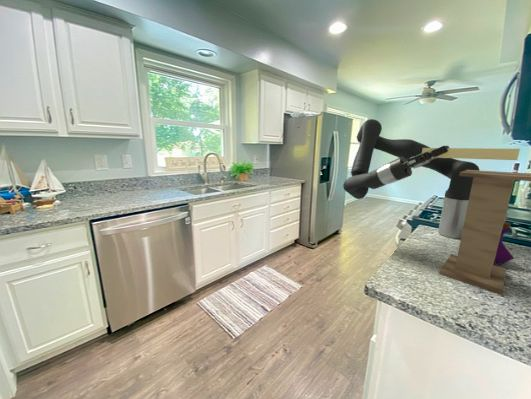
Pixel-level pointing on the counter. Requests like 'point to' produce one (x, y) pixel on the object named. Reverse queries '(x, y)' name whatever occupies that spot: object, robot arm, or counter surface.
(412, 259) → the counter surface
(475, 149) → the ochre bar
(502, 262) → the perfume bottle
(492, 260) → the walnut stand
